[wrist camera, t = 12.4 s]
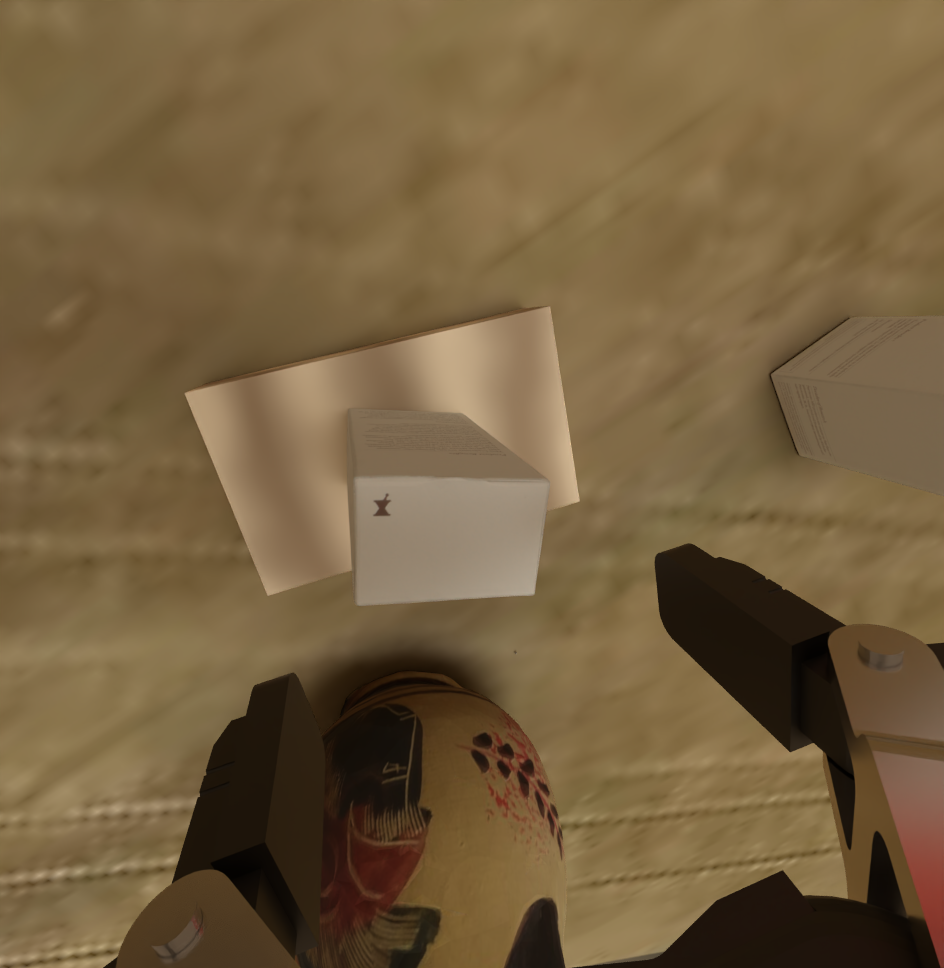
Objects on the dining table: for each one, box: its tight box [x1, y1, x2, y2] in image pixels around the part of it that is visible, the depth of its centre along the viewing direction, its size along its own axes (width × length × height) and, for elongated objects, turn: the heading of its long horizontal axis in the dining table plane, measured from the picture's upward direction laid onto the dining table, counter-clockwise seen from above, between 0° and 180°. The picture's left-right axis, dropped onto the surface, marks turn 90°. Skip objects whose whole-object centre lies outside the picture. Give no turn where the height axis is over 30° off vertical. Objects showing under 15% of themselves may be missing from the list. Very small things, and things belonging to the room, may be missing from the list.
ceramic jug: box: [295, 652, 567, 968], centre depth 23 cm, size 17×15×30 cm
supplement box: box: [771, 316, 944, 496], centre depth 30 cm, size 7×7×13 cm
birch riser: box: [185, 306, 579, 596], centre depth 28 cm, size 18×11×4 cm, turn 102°
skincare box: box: [347, 408, 550, 606], centre depth 21 cm, size 6×4×12 cm
